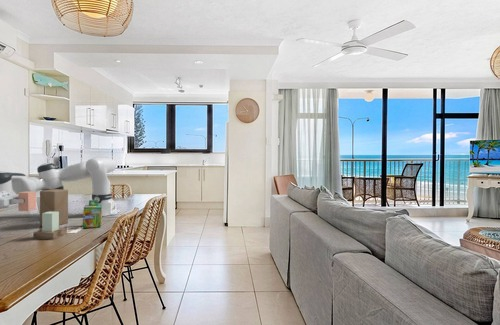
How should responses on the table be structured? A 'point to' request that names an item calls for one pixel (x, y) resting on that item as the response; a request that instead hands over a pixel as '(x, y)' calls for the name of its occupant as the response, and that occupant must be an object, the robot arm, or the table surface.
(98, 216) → the green printed box
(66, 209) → the wooden block
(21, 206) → the coral brick
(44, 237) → the walnut base
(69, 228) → the page
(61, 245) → the table surface
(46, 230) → the sage brick
